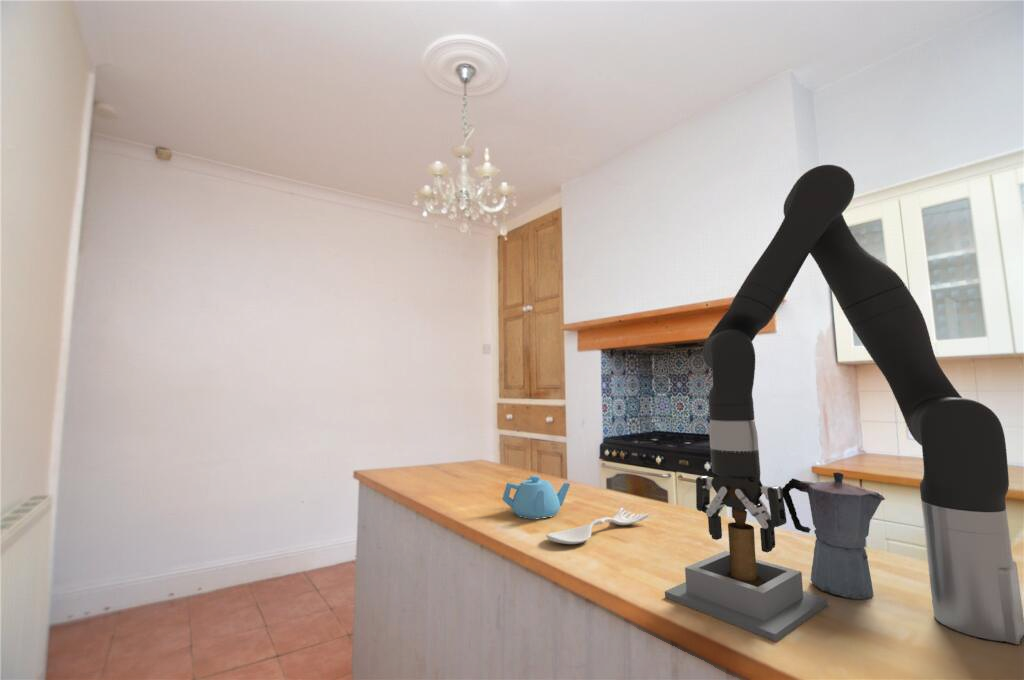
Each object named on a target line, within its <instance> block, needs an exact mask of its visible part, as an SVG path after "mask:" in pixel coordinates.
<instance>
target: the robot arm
mask: <svg viewBox="0 0 1024 680" xmlns="http://www.w3.org/2000/svg"><path fill="white" fill-rule="evenodd" d="M855 189H856V188H855V181H854V178H853V177H852V174H851V173H850V172H849V171H848V170H846V169H845V168H844V167H842V166H838V165H835V164H822V165H818V166H814V167H813V168H811V169H809V170H808V171H806V172H804V173H803V174H802V175H801V176H800V177H799V178H798V179H797V180H796V181H795V183H794V184H793V186H792V188H791V189H790V191H789V193H788V194H787V196H786V199H785V200H784V203H783V215H784V218H783V220H782V222H781V224H780V226H779V228H778V229H777V230H776V233H775V234H774V237H773V238H772V239H771V241H770V242H769V244H768V245H767V247H766V248H765V249H764V251H763V253H762V254H761V256H760V257H759V259H758V260H757V261H756V263H755V264H754V266H753V267H752V269H751V270H750V272H749V273H748V274H747V276H746V278H745V279H744V281H743V283H742V284H741V286H740V288H739V289H738V290H737V292H736V294H735V296H734V298H733V299H732V302H731V304H730V305H729V307H728V309H727V311H725V314H724V315H722V317H721V319H720V320H719V322H718V323H717V324H716V325H715V326H714V328H713V329H712V331H711V332H710V334H709V335H708V337H707V338H706V340H705V342H704V344H703V347H702V353H701V354H702V360H703V362H704V363H705V365H706V366H707V367H708V368H710V369H711V370H712V387H711V389H710V390H709V392H708V393H709V394H708V408H709V409H708V412H709V431H708V432H709V447H710V448H709V449H710V463H711V472H712V474H713V476H712V477H709V475H701V476H698V477H696V478H695V479H696V480H695V484H696V486H695V488H696V491H695V497H696V498H695V501H696V502H695V503H696V504H695V505H696V506H695V507H696V511H699V512H702V513H704V514H706V516H707V523H708V533H709V535H710V536H711V540H716V541H718V540H720V539H722V537H723V529H722V517H721V515H719V514H721V511H723V509H724V508H725V507H727V508H734V507H737V508H739V509H743V510H745V511H747V512H749V515H751V516H752V517H754V518H755V519H756V521H757V522H758V524H759V525H760V528H759V531H760V533H759V534H760V544H761V545H760V547H761V552H763V553H769V552H772V551H773V549H775V548H776V534H775V528H778V527H780V526H784V525H786V524H787V523H788V521H787V513H786V507H785V500H784V498H783V492H782V488H783V487H781V485H774V486H765V485H763V483H762V481H761V464H760V463H761V462H760V451H759V450H760V449H759V437H758V431H757V427H756V421H755V408H754V406H755V405H754V398H753V389H754V383H755V381H754V380H755V374H756V373H755V372H756V352H755V347H754V343H753V340H754V339H755V338H756V336H757V335H758V333H760V331H762V329H764V328H766V326H767V325H768V324H770V322H771V320H772V319H773V317H774V316H775V315H776V314H775V313H776V312H777V311H778V309H779V308H780V306H781V305H782V302H783V301H784V299H785V297H786V295H788V292H789V290H790V288H791V286H792V285H793V283H794V281H795V279H796V277H798V276H797V275H798V274H799V272H800V270H801V269H802V267H803V265H804V263H805V261H806V259H807V257H809V255H811V256H812V258H813V260H814V261H815V263H816V265H817V267H818V268H819V270H820V272H821V275H822V276H823V278H824V279H825V282H826V284H827V285H828V286H829V288H830V290H831V293H833V295H834V297H835V300H836V301H837V303H838V305H839V307H840V308H841V310H842V313H843V314H844V316H845V318H846V319H847V322H848V323H849V325H850V326H851V328H852V330H853V331H854V332H855V334H856V335H857V338H858V340H859V341H860V343H861V344H862V345H863V347H864V349H865V350H866V351H867V353H868V355H869V356H870V358H871V359H872V360H873V362H874V363H875V365H876V366H877V368H878V369H879V371H880V372H881V373H882V375H883V376H884V378H885V380H886V381H887V384H888V385H889V387H890V389H891V392H892V393H893V396H894V398H895V401H896V403H897V405H898V407H899V410H900V412H901V415H902V417H903V419H904V423H905V424H906V427H907V429H908V431H909V433H910V435H911V436H912V438H913V439H914V441H915V442H916V443H918V445H920V446H921V450H922V462H923V476H922V480H921V481H920V483H919V492H920V493H919V495H920V499H921V508H922V518H923V529H924V537H925V546H926V554H927V556H926V557H927V565H928V573H929V574H928V575H929V584H930V593H931V604H932V610H933V616H934V619H936V621H937V622H939V623H941V625H944V626H946V627H947V628H949V629H952V630H954V631H957V632H959V633H962V634H965V635H968V636H973V637H976V638H980V639H985V640H990V641H998V642H1004V641H1005V643H1009V642H1010V643H1011V644H1014V645H1017V644H1019V643H1021V642H1022V640H1021V639H1023V638H1024V610H1023V602H1022V593H1021V589H1020V580H1019V572H1018V564H1017V562H1016V561H1014V559H1013V553H1012V544H1011V538H1010V537H1011V536H1010V530H1009V529H1010V528H1009V521H1008V513H1007V507H1006V505H1007V504H1006V496H1007V495H1008V494H1007V493H1008V491H1009V487H1010V478H1009V477H1010V476H1009V465H1008V456H1007V443H1006V436H1005V431H1004V429H1003V428H1004V427H1003V426H1002V423H1001V421H1000V419H999V417H998V416H997V415H996V413H995V412H994V411H993V410H992V409H991V408H989V407H988V406H986V405H985V404H983V403H981V402H979V401H976V400H973V399H970V398H969V399H968V398H963V397H962V396H961V394H960V393H959V392H958V390H957V389H956V388H955V387H954V385H953V384H952V382H951V381H950V379H949V378H948V377H947V376H946V374H945V373H944V371H943V370H942V367H941V366H940V364H939V362H938V360H937V358H936V355H935V352H934V349H933V348H934V347H933V345H932V341H931V336H930V333H929V328H928V326H927V325H928V324H927V323H926V319H925V318H924V315H923V312H922V310H921V309H920V306H919V305H918V303H917V302H916V300H915V298H914V296H913V295H912V293H911V291H910V290H909V288H908V287H907V285H906V283H905V282H904V281H903V280H902V278H901V277H900V275H898V273H897V272H896V271H895V270H893V269H892V268H891V267H890V266H888V264H886V263H884V262H883V261H882V260H881V259H879V258H877V256H875V255H873V254H871V252H869V251H867V250H866V249H865V248H864V247H863V246H862V245H861V244H860V243H859V241H857V239H856V238H855V236H854V234H853V232H852V231H851V229H850V228H849V226H848V224H847V222H846V220H845V218H844V215H843V213H844V212H845V210H846V209H847V208H848V207H849V206H850V203H851V202H852V201H853V197H854V195H855V191H856V190H855ZM732 487H734V488H736V490H735V494H736V495H737V497H738V499H733V498H732V497H731V496H730V494H729V493H730V488H732ZM712 488H713V490H714V491H715V493H716V495H715V496H714V498H712V500H711V489H712ZM763 494H764V497H765V500H766V501H768V507H769V511H770V512H769V511H768V508H767V506H766V505H765V504H764V502H763V501H762V499H761V497H762V496H763ZM1020 641H1021V642H1020ZM1019 645H1020V644H1019Z"/></svg>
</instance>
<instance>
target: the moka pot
mask: <svg viewBox="0 0 1024 680" xmlns="http://www.w3.org/2000/svg"><path fill="white" fill-rule="evenodd" d="M832 474H833V481H832V480H831V481H818V482H812V481H806V480H799V479H797V478H791V479H789V481H788V483H786V484H784V486H783V487H781V488H782V492H783V499H784V504H785V505H786V507H787V510H788V513H789V515H790V518H791V521H792V523H793V526H794V528H795V530H797V531H800V532H803V533H808V534H809V533H810V531H811V530H812V529H811V528H810V527H809V526H804V525H802V524H801V522H800V519H799V517H798V514H797V511H796V508H795V504H794V502H793V499H792V495H791V493H790V491H791V490H793V489H795V490H798V492H803V493H807V495H808V500H809V501H808V502H809V507H810V511H811V512H810V513H811V518H812V525H813V527H814V535H815V538H816V539H815V543H814V548H813V558H812V565H811V566H812V567H811V571H810V572H811V573H810V581H811V582H812V584H813V585H814V586H816V587H817V588H818V589H820V590H822V591H824V592H827V593H829V594H832V595H835V596H839V597H842V598H843V597H844V598H847V599H852V600H867V599H870V598H871V597H872V596H873V595H874V589H873V583H872V577H871V572H870V566H869V561H868V560H869V559H868V554H867V550H866V549H865V547H866V538H867V537H869V535H870V534H869V533H870V524H871V520H872V518H874V515H875V513H876V511H877V510H878V508H879V506H880V505H881V502H882V501H885V500H886V498H885V497H884V495H882V494H880V493H879V492H876V491H873V490H869V489H866V488H865V487H861V486H859V485H854V484H852V483H851V484H850V483H847V482H844V481H843V479H844V474H843V473H841V472H837V471H836V472H832Z"/></svg>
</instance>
